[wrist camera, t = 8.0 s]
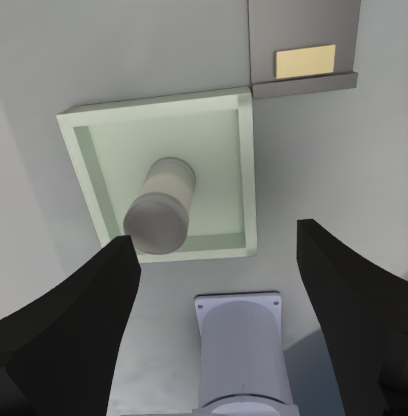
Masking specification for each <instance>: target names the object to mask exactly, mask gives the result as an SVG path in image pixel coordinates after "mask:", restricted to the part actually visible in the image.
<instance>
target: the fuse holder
mask: <svg viewBox="0 0 408 416" xmlns="http://www.w3.org/2000/svg"><path fill="white" fill-rule="evenodd" d="M360 4H361V0H248V17H249V44H250V72H251V93H252V98H253V99H260V98H269V97H278V96H287V95H296V94H305V93H314V92H322V91H331V90H340V89H349V88H356V85H357V77H358V73H356V72H353V64H354V55H355V47H356V38H357V29H358V21H359V12H360Z"/></svg>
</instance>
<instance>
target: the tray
mask: <svg viewBox="0 0 408 416" xmlns="http://www.w3.org/2000/svg"><path fill="white" fill-rule="evenodd" d="M56 118H57V120H58V123H59V126H60V129H61V132H62V135H63V137H64V140H65V143H66V146H67V149H68V152H69V155H70V157H71V160H72V163H73V166H74V169H75V172H76V175H77V177H78V180H79V183H80V186H81V189H82V192H83V194H84V197H85V200H86V203H87V206H88V209H89V212H90V214H91V217H92V220H93V223H94V226H95V229H96V232H97V234H98V237H99V240H100V243H101V246H102V248H103V247H105V246H106V245H107V244H108V243H109V242H110V241H111V240H113V239H114V238H115V237H117V236H122V235H125V233H124V230H123V220H124V217H125V215H126V213H127V211H128V209H129V207H130V205H131V204H132V202H133V201H134V200H135V198H136V196H137V194H138V192H139V190H140V188H141V186H142V184H143V182H144V181H145V178H146V175H147V173H148V171H149V169H150V167H151V166H152V165H153V163H154V162H156V161H157V160H159V159H161V158H164V157H176V158H180V159H182V160H184V161H185V162H187V163H188V164H189V165H190V166H191V167H192V169H193V171H194V173H195V177H196V184H195V190H194V193H193V198H192V203H191V209H190V215H189V226H188V233H187V237H186V240H185V242H184V244H183V245H182V246H181V247H180V248H179V249H178V250H176V251H174V252H172V253H169V254H165V255H152V254H148V253H145V252H142V251H140V250H139V249H137V248H136V247H134V248H135V251H136V255H137V258H138V261H139V263H150V262H166V261H182V260H198V259H214V258H230V257H245V256H257V231H256V203H255V175H254V147H253V119H252V93H251V91H250V89H249V87H248V86H246V87H237V88H229V89H220V90H211V91H203V92H194V93H186V94H177V95H168V96H160V97H151V98H143V99H134V100H125V101H117V102H108V103H100V104H91V105H82V106H74V107H71V108H69V109H67V110H65V111H63V112H61V113H59V114H57V115H56Z"/></svg>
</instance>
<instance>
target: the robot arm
mask: <svg viewBox="0 0 408 416" xmlns="http://www.w3.org/2000/svg"><path fill="white" fill-rule="evenodd" d="M297 263H298V267H299V271H300V274H301V278H302V281H303V284H304V286H305V289H306V291H307V294H308V296H309V299H310V301H311V304H312V306H313V309H314V311H315V313H316V316H317V318H318V321H319V323H320V326H321V329H322V331H323V334H324V337H325V341H326V344H327V348H328V351H329V355H330V358H331V361H332V365H333V369H334V373H335V376H336V380H337V384H338V387H339V391H340V395H341V399H342V403H343V407H344V411H345V415H346V416H408V281H406V280H404V279H402V278H400V277H398V276H396V275H394V274H392V273H390V272H388V271H386V270H384V269H382V268H381V267H379V266H377V265H375V264H374V263H372V262H370V261H369V260H367V259H365V258H364V257H362V256H361V255H359V254H358V253H356V252H355V251H353V250H352V249H350V248H349V247H348V246H346V245H345V244H344V243H342V242H341V241H340V240H338V239H337V238H336V237H334V236H333V235H332V234H331V233H329V232H328V231H327V230H326V229H324V228H323V227H322V226H321V225H320V224H318V223H317V222H316V221H315V220H313V219H304V220H297ZM140 276H141V267H140V264H139V261H138V258H137V255H136V251H135V248H134V245H133V242H132V238H131V235H122V236H117V237H115V238H114V239H113V240H111V241H110V242H109V243H108V244H107V245H106V246H105V247H103V248H102V249H101V250H100V251H99V252H98V253H97V254H96V255H94V256H93V257H92V258H91V259H90V260H89V261H88V262H86V263H85V264H84V265H83V266H82V267H80V268H79V269H78V270H77V271H76V272H74V273H73V274H72V275H71V276H69V277H68V278H67V279H66V280H64V281H63V282H62V283H60V284H59V285H57V286H56V287H55V288H53V289H52V290H50V291H49V292H47V293H46V294H44V295H43V296H41V297H40V298H38V299H36V300H35V301H33V302H31V303H30V304H28V305H26V306H25V307H23V308H21V309H20V310H18V311H16V312H14V313H12V314H10V315H9V316H7V317H5V318H3V319H1V320H0V416H106V413H107V407H108V401H109V396H110V390H111V385H112V380H113V375H114V370H115V365H116V361H117V356H118V352H119V347H120V343H121V340H122V336H123V333H124V330H125V327H126V325H127V322H128V319H129V316H130V313H131V310H132V307H133V304H134V301H135V298H136V294H137V291H138V287H139V282H140ZM275 301H277V302H275ZM281 302H282V298H281V295H280V294H279V293H256V294H237V295H217V296H199V297H196V298H195V301H194V304H195V309H196V315H197V320H198V326H199V331H200V337H201V342H202V347H201V365H200V383H199V401H198V409H193V410H192V413H187V414H146V415H122V416H300V415H299V410H298V406H296V405H293V401H292V396H291V391H290V387H289V381H288V376H287V371H286V366H285V361H284V357H283V351H282V346H281ZM200 305H201V306H200Z"/></svg>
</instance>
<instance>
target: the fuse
mask: <svg viewBox="0 0 408 416" xmlns="http://www.w3.org/2000/svg"><path fill="white" fill-rule="evenodd" d="M195 184H196V177H195V173H194V171H193V169H192V167H191V166H190V165H189V164H188V163H187V162H185V161H184V160H182V159H180V158H176V157H164V158H161V159H159V160H157V161H156V162H154V163H153V165H152V166H151V167H150V169H149V171H148V173H147V175H146V178H145V181H144V182H143V184H142V186H141V188H140V190H139V192H138V194H137V196H136V198H135V200H134V201H133V202H132V204H131V205H130V207H129V209H128V211H127V213H126V215H125V217H124V220H123V230H124V233H125V235H131V238H132V242H133V245H134V247H136V248H137V249H139V250H140V251H142V252H145V253H148V254H152V255H165V254H169V253H172V252H174V251H176V250H178V249H179V248H180V247H181V246H182V245H183V244H184V242H185V240H186V237H187V233H188V226H189V215H190V209H191V203H192V198H193V193H194V190H195Z"/></svg>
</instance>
